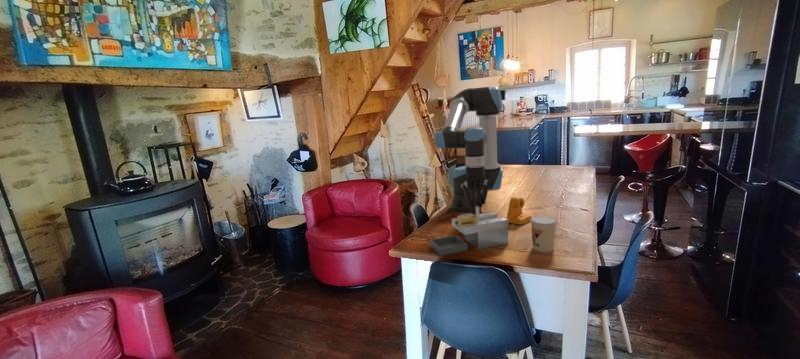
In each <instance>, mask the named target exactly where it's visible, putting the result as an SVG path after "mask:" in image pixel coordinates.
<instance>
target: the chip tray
mask: <svg viewBox="0 0 800 359" xmlns="http://www.w3.org/2000/svg"><path fill="white" fill-rule="evenodd" d="M429 245H430V246H429V247H430V248H431V249H432V250H433V251H434V252H436V254H438V256H439V257H443V256H450V255H454V254H459V253H460V254H461V253H465V252H468V251H469V250H468V249H469V248H468V247H469V246H468V243H467V242H466V241H464V240H463V239H462V238H460V237H459V236H458V235H457V234H454V235H449V236H445V237H439V238H433V239H429Z"/></svg>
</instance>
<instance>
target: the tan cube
mask: <svg viewBox="0 0 800 359" xmlns="http://www.w3.org/2000/svg"><path fill="white" fill-rule="evenodd" d="M467 217H468V218H469V224H470V223H476V222H477V217H476V216H475V215H467Z"/></svg>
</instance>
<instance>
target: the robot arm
mask: <svg viewBox="0 0 800 359" xmlns="http://www.w3.org/2000/svg"><path fill="white" fill-rule="evenodd" d="M448 107H449V111H448V114H447V118H446V120H445V123H444V124H443V128H442V130H439V131H436V132H435V133H434V135H433V136H434V138H433V139H434V140H433V141H434V147H436V149H443V150H445V149H464V152H465V154H464V156H465V157H464V158H465V165H462V166H458V167H455V168H454V169H453V171H452V188H453V192H452V193H453V195H452V199H451V202H450V209H451V210H453V211H456V212H463V213H464V212H471V213H472V214H473V215H475V216H476V217H477V222H480V217H479V214H482V207H483V205H485V204H486V202H487V196H488V193H489V192H488V191H499V190H501V188H502V182H503V176H504V175H503V174H504V169H503V168H501V164H500V163H499V162H498V140H497V139H498V137H497V136H498V135H497V134H498V130H497V117H498V116H499V115H500V111H502V110H503V101H502V93H501V91H500V88H499V87H498V86H484V87H472V88H471V87H470V88H465V89H463V90H461V91H459V92H458V93H456V94H455V95H454V97H452V99H451V101H450V103H449V106H448ZM468 112H469V113H470V112H475V116H476V117H478V122H479V125H478V126H475V127H474V126H473V127H467V128H465V129H464V130H461V128H462V125H463V122H464V118H465V116H466V114H467V113H468Z"/></svg>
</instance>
